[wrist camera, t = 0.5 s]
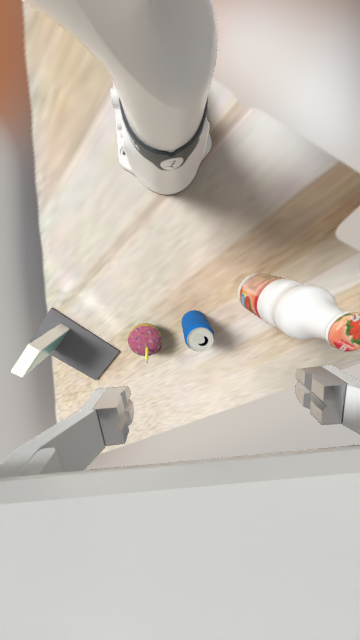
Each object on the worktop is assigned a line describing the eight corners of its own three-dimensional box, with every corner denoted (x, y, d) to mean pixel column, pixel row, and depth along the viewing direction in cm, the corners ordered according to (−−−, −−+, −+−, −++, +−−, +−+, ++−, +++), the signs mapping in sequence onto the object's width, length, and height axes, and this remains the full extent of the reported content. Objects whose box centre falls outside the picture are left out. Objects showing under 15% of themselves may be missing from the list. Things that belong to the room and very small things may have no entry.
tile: (46, 344, 49) (10, 371, 38) (61, 323, 48) (28, 344, 36) (55, 349, 50) (22, 377, 39) (70, 328, 48) (40, 350, 37)
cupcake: (168, 336, 51) (169, 359, 40) (144, 352, 53) (137, 379, 41) (150, 312, 49) (145, 329, 38) (124, 329, 50) (112, 351, 39)
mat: (30, 341, 49) (29, 342, 49) (52, 307, 47) (51, 308, 46) (96, 379, 55) (95, 380, 54) (119, 350, 52) (119, 351, 51)
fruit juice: (278, 282, 48) (411, 316, 22) (258, 313, 51) (355, 377, 24) (248, 266, 46) (354, 281, 20) (229, 299, 49) (300, 351, 23)
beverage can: (195, 335, 52) (203, 358, 41) (176, 324, 50) (179, 344, 39) (209, 317, 50) (221, 335, 39) (190, 304, 49) (197, 320, 37)
